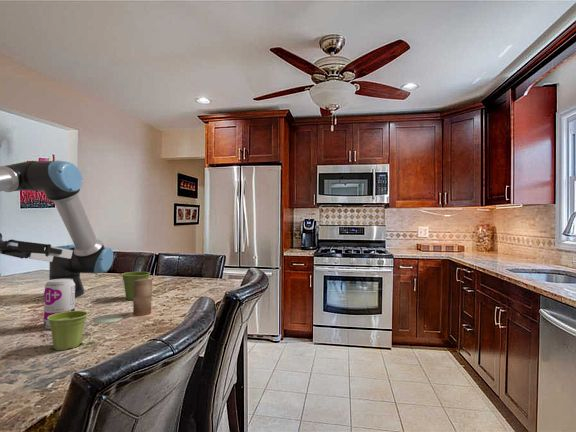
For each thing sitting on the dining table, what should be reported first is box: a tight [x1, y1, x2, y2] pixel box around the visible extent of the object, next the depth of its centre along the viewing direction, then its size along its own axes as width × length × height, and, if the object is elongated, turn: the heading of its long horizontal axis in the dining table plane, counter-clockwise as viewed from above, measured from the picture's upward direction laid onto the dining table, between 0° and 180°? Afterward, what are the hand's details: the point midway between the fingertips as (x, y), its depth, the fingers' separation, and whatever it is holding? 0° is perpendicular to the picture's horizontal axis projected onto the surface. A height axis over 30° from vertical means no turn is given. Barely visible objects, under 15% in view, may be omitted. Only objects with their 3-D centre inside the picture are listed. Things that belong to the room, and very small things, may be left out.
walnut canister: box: [132, 278, 153, 316], centre depth 118 cm, size 6×6×12 cm
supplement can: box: [43, 279, 76, 330], centre depth 107 cm, size 8×8×15 cm
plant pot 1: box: [47, 310, 89, 351], centre depth 90 cm, size 9×9×9 cm
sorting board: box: [92, 309, 157, 324], centre depth 115 cm, size 16×20×1 cm
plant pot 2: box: [120, 271, 151, 301], centre depth 146 cm, size 12×12×11 cm
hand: (61, 256), depth 109 cm, fingers open, 13 cm apart
